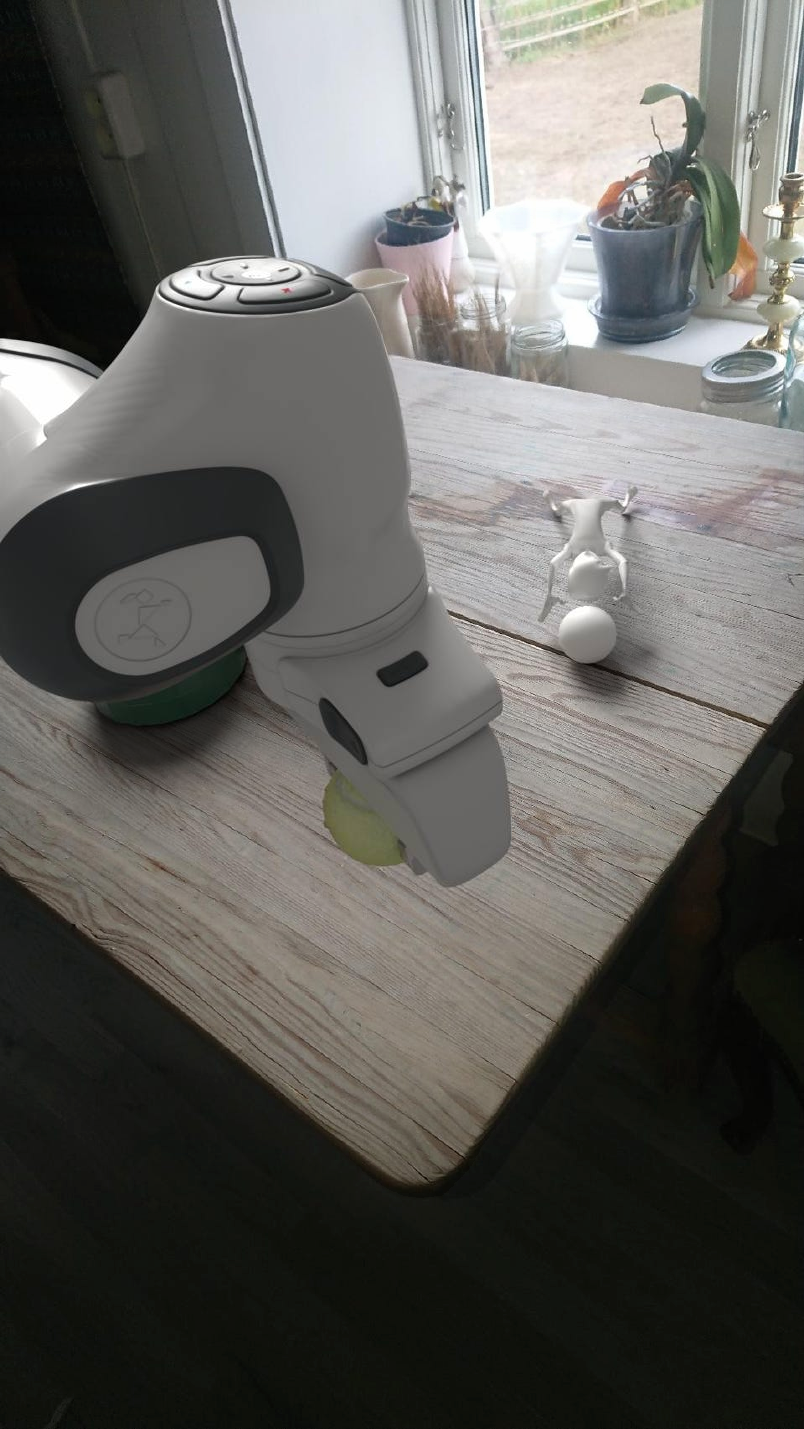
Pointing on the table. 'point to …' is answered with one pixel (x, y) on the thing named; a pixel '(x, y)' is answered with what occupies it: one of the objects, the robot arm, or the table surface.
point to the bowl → (180, 694)
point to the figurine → (587, 578)
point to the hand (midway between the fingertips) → (384, 818)
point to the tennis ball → (358, 825)
